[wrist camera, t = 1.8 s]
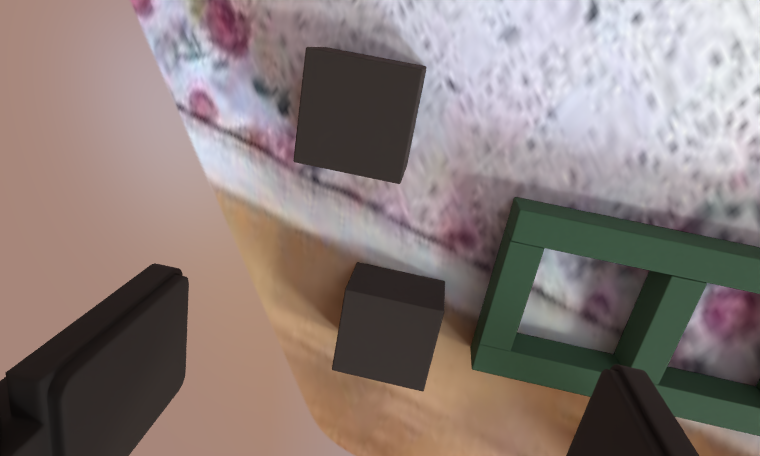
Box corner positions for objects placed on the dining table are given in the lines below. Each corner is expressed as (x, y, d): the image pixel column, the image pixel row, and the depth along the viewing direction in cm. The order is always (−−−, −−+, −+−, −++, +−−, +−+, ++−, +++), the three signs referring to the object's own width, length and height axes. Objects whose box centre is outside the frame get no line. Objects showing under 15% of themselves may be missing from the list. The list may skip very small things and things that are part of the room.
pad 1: (324, 47, 28) (305, 46, 24) (426, 66, 28) (423, 69, 24) (312, 148, 30) (293, 162, 26) (406, 167, 30) (400, 184, 26)
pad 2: (357, 261, 33) (345, 289, 29) (445, 280, 32) (444, 311, 28) (344, 335, 35) (331, 370, 31) (426, 354, 34) (423, 392, 31)
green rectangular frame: (514, 196, 30) (519, 209, 27) (861, 268, 28) (898, 288, 26) (470, 347, 34) (471, 369, 31) (771, 416, 32) (796, 445, 30)
